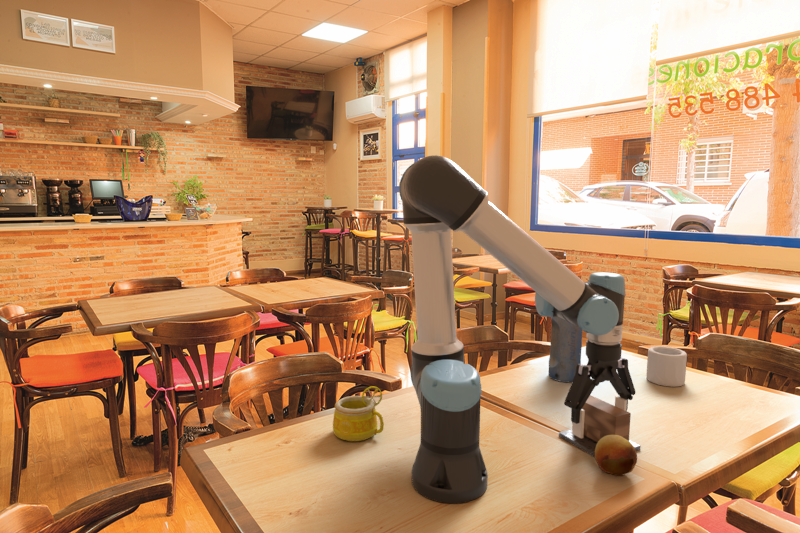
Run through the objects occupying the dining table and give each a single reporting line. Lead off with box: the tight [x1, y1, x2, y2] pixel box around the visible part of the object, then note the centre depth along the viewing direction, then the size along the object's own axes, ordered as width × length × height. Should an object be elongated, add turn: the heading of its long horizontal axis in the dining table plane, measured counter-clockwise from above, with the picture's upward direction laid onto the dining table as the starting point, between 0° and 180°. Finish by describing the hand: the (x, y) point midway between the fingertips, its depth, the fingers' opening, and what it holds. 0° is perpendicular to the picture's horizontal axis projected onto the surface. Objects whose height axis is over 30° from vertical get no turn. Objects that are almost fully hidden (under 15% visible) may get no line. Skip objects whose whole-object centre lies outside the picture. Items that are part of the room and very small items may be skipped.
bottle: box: [548, 317, 583, 383], centre depth 158 cm, size 10×10×30 cm
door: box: [577, 394, 632, 442], centre depth 115 cm, size 12×4×8 cm, turn 26°
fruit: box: [594, 435, 638, 477], centre depth 102 cm, size 8×8×8 cm
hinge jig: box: [558, 428, 641, 458], centre depth 116 cm, size 12×13×4 cm
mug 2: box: [645, 345, 688, 388], centre depth 157 cm, size 14×11×10 cm
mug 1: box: [332, 385, 385, 442], centre depth 119 cm, size 13×11×12 cm
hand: (599, 430), depth 116 cm, fingers open, 13 cm apart
